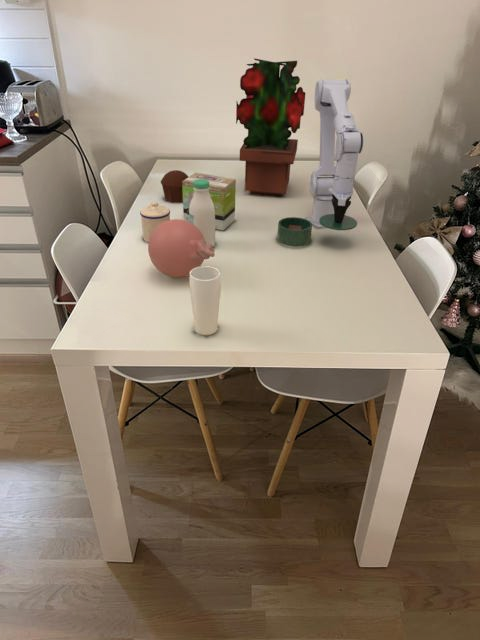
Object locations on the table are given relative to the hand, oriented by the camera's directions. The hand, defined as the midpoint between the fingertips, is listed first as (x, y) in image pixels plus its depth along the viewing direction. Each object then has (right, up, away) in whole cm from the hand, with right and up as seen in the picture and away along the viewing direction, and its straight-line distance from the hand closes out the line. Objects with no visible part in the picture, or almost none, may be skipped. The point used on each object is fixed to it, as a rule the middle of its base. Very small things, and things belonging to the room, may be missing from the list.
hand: (338, 220), depth 149 cm
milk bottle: (-41, -7, +3) cm, 42 cm away
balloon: (-45, -18, -14) cm, 51 cm away
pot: (-13, -5, +6) cm, 15 cm away
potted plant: (-19, +21, +45) cm, 53 cm away
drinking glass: (-38, -33, -35) cm, 61 cm away
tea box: (-40, +3, +17) cm, 44 cm away
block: (-13, -5, +6) cm, 15 cm away
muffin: (-53, +15, +35) cm, 66 cm away
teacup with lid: (-56, -4, +7) cm, 56 cm away
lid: (0, -1, 0) cm, 1 cm away
